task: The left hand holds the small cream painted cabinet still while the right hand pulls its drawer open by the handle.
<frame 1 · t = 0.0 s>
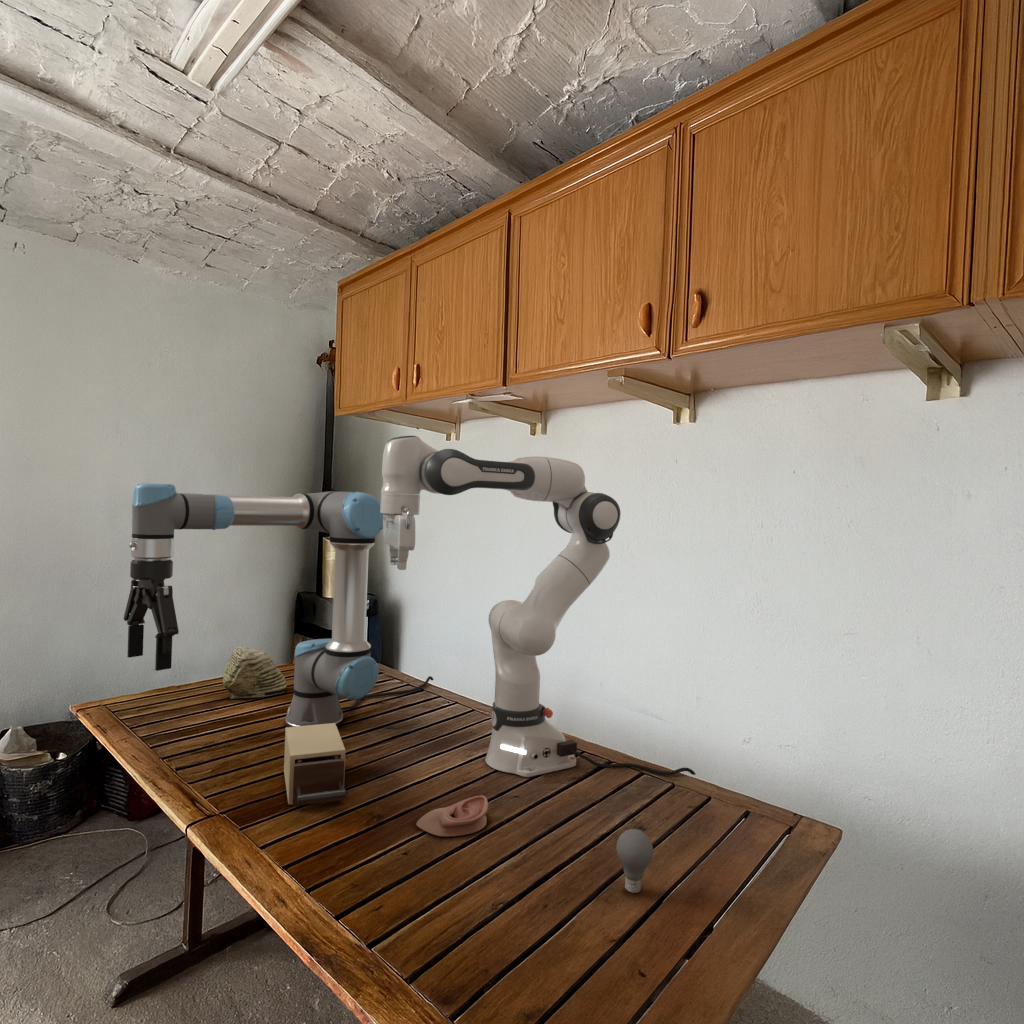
left hand: (148, 662, 129), 28 cm above the table, tool pointing down, fingers open, 13 cm apart
right hand: (397, 567, 145), 48 cm above the table, tool pointing down, fingers open, 8 cm apart
fossil: (254, 694, 198), on the table
light bulb: (632, 891, 106), on the table
cabinet: (312, 783, 140), on the table
anatomical model: (452, 823, 125), on the table
drawer: (316, 773, 133), point 5 cm above the table, slide at 1.9 cm
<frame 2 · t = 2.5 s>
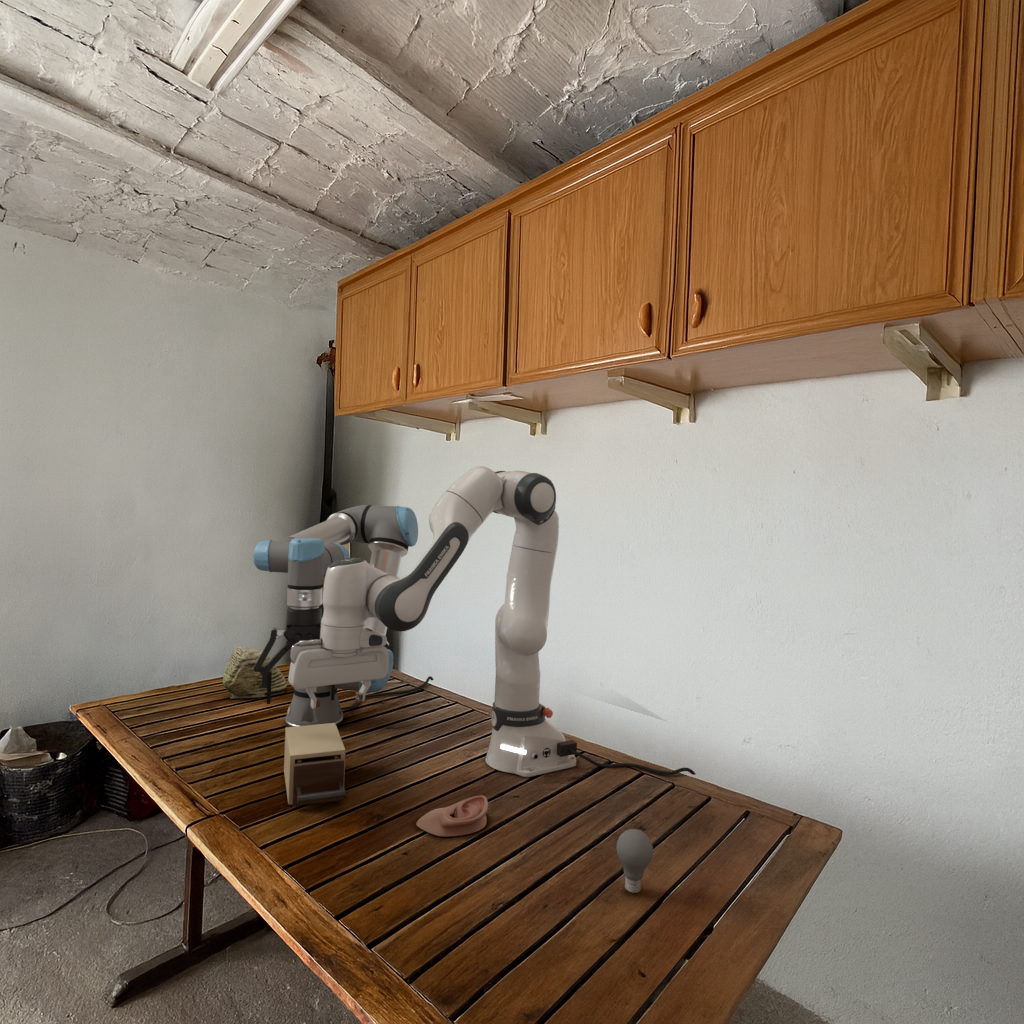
left hand: (300, 700, 143), 17 cm above the table, tool pointing down, fingers open, 13 cm apart
right hand: (338, 704, 130), 21 cm above the table, tool pointing down, fingers open, 8 cm apart
nothing on the table moved.
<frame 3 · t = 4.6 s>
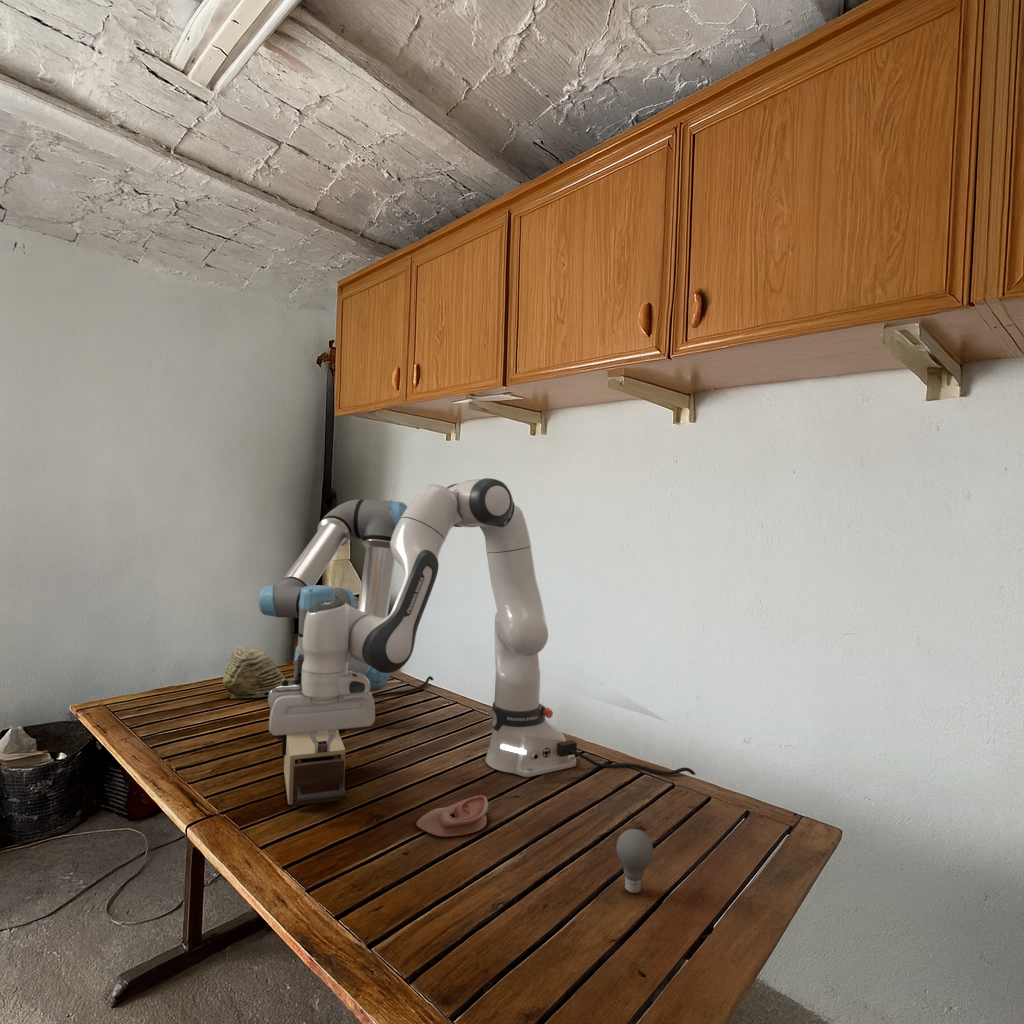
left hand: (311, 750, 144), 5 cm above the table, tool pointing down, fingers closed on cabinet, 11 cm apart
right hand: (321, 751, 126), 13 cm above the table, tool pointing down, fingers closed
cabinet: (312, 783, 140), on the table, touching left hand
everything else where it was.
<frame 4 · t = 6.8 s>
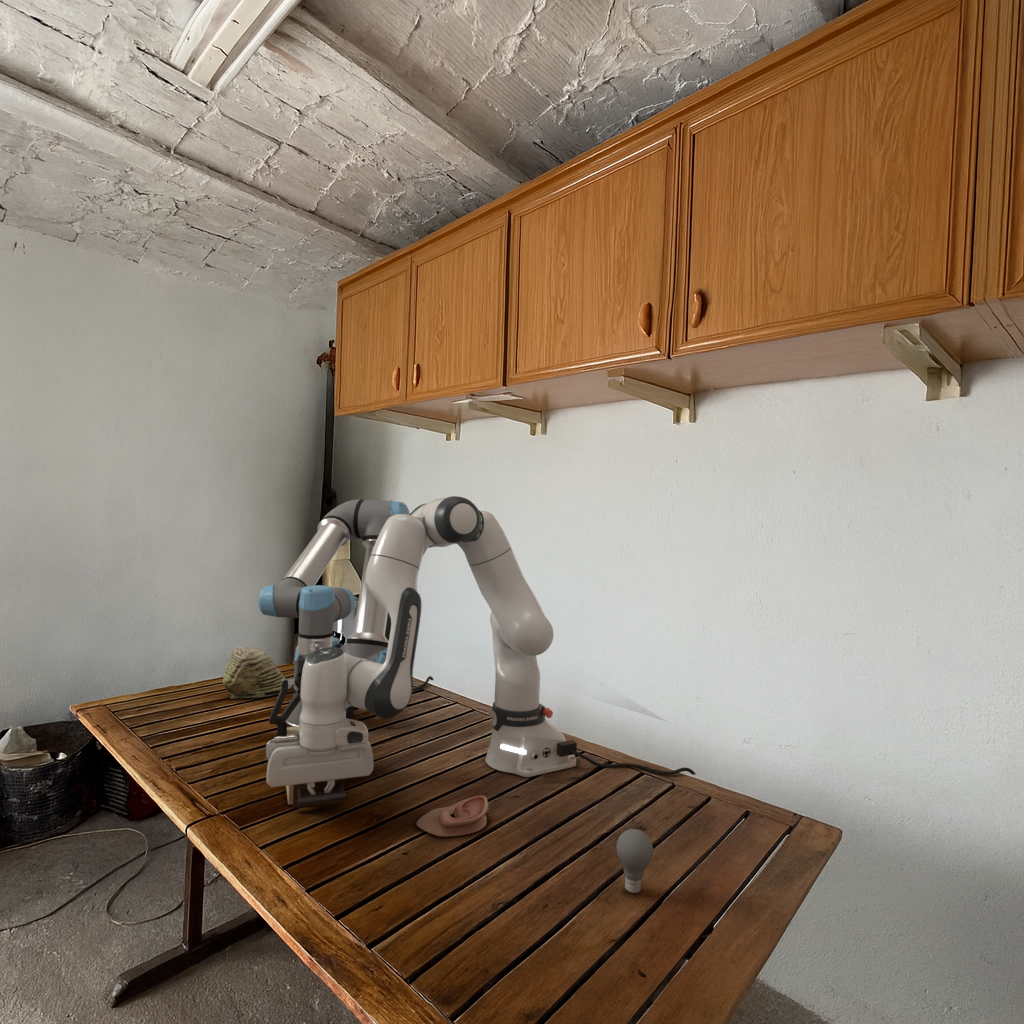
left hand: (311, 750, 144), 5 cm above the table, tool pointing down, fingers closed on cabinet, 11 cm apart
right hand: (319, 801, 125), 3 cm above the table, tool pointing down, fingers closed, pressing on drawer
cabinet: (312, 783, 140), on the table, touching left hand
drawer: (316, 775, 133), point 5 cm above the table, slide at 2.7 cm, touching right hand
everything else where it was.
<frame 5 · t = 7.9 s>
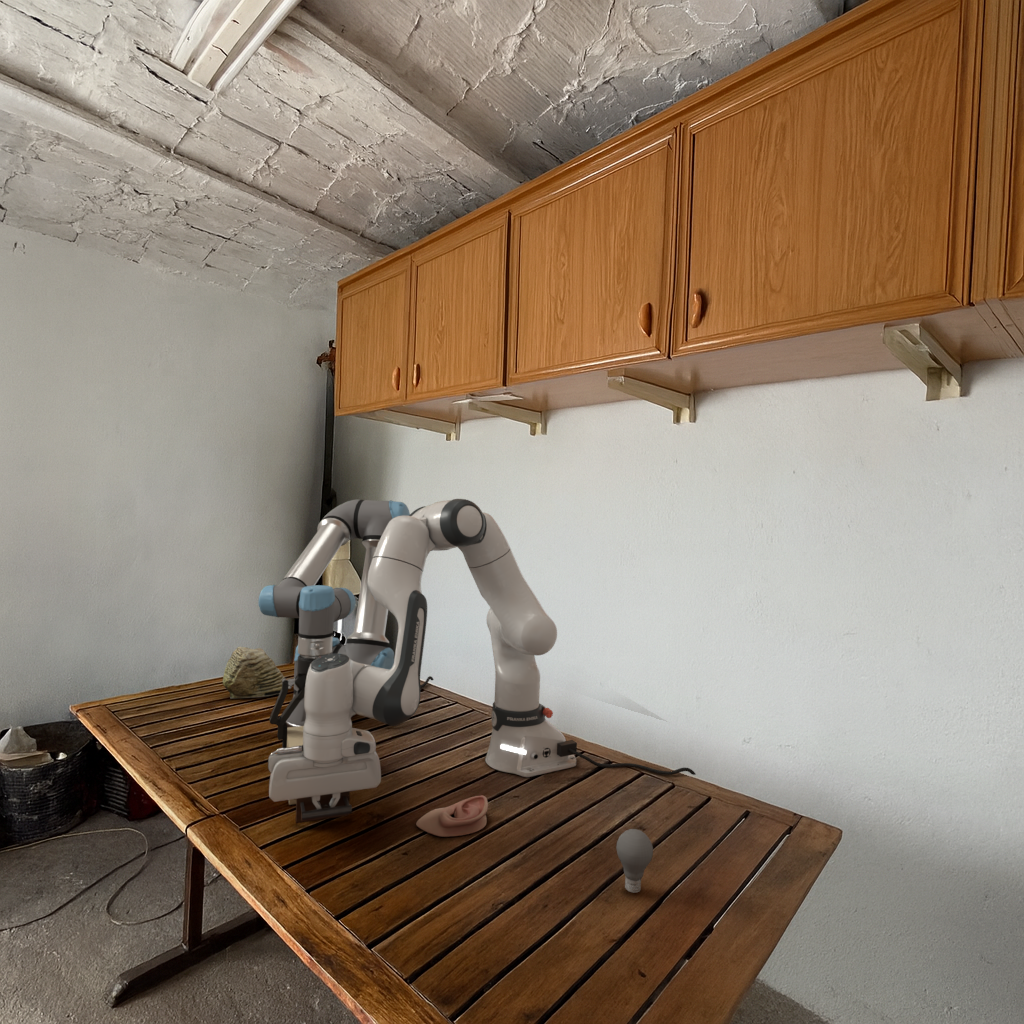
left hand: (311, 750, 144), 5 cm above the table, tool pointing down, fingers closed on cabinet, 11 cm apart
right hand: (325, 815, 119), 3 cm above the table, tool pointing down, fingers closed, pressing on drawer
cabinet: (313, 783, 139), on the table, touching left hand
drawer: (320, 787, 127), point 5 cm above the table, slide at 8.8 cm, touching right hand
everything else where it was.
when the left hand's fingers open (5 cm above the table, at t = 9.5 s): cabinet stays where it is, on the table.
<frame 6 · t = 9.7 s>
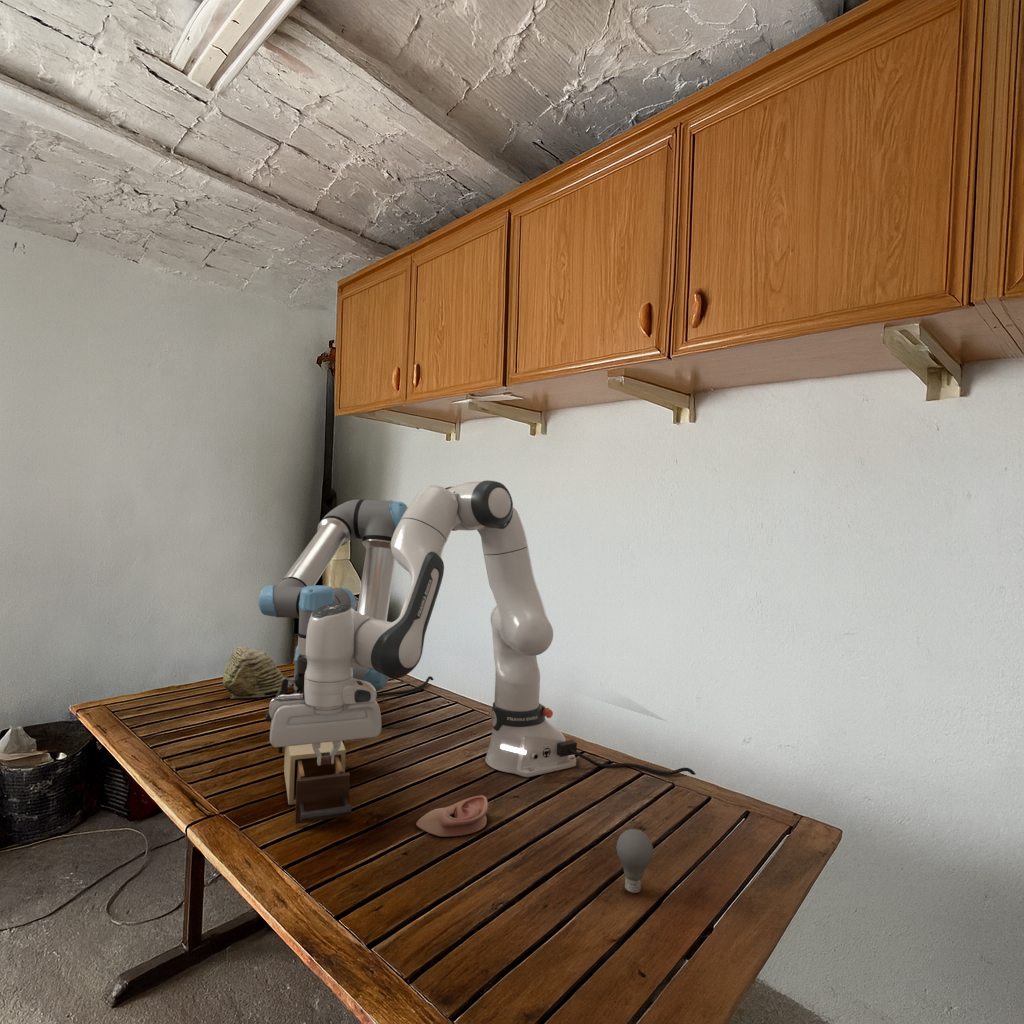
left hand: (311, 747, 144), 6 cm above the table, tool pointing down, fingers open, 13 cm apart
right hand: (325, 763, 120), 13 cm above the table, tool pointing down, fingers closed
cabinet: (312, 784, 139), on the table
drawer: (320, 788, 127), point 5 cm above the table, slide at 8.9 cm
everything else where it was.
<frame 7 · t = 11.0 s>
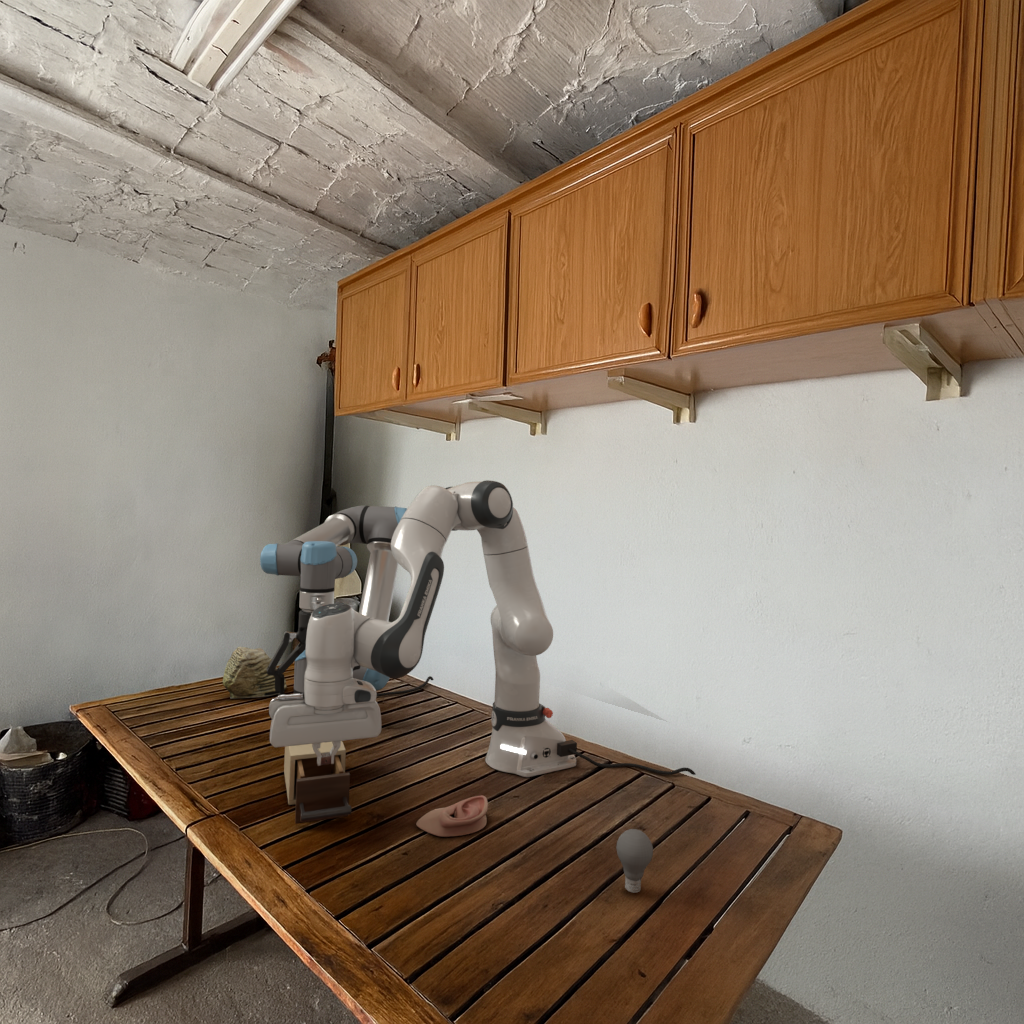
left hand: (313, 702, 144), 16 cm above the table, tool pointing down, fingers open, 13 cm apart
right hand: (325, 763, 120), 13 cm above the table, tool pointing down, fingers closed
nothing on the table moved.
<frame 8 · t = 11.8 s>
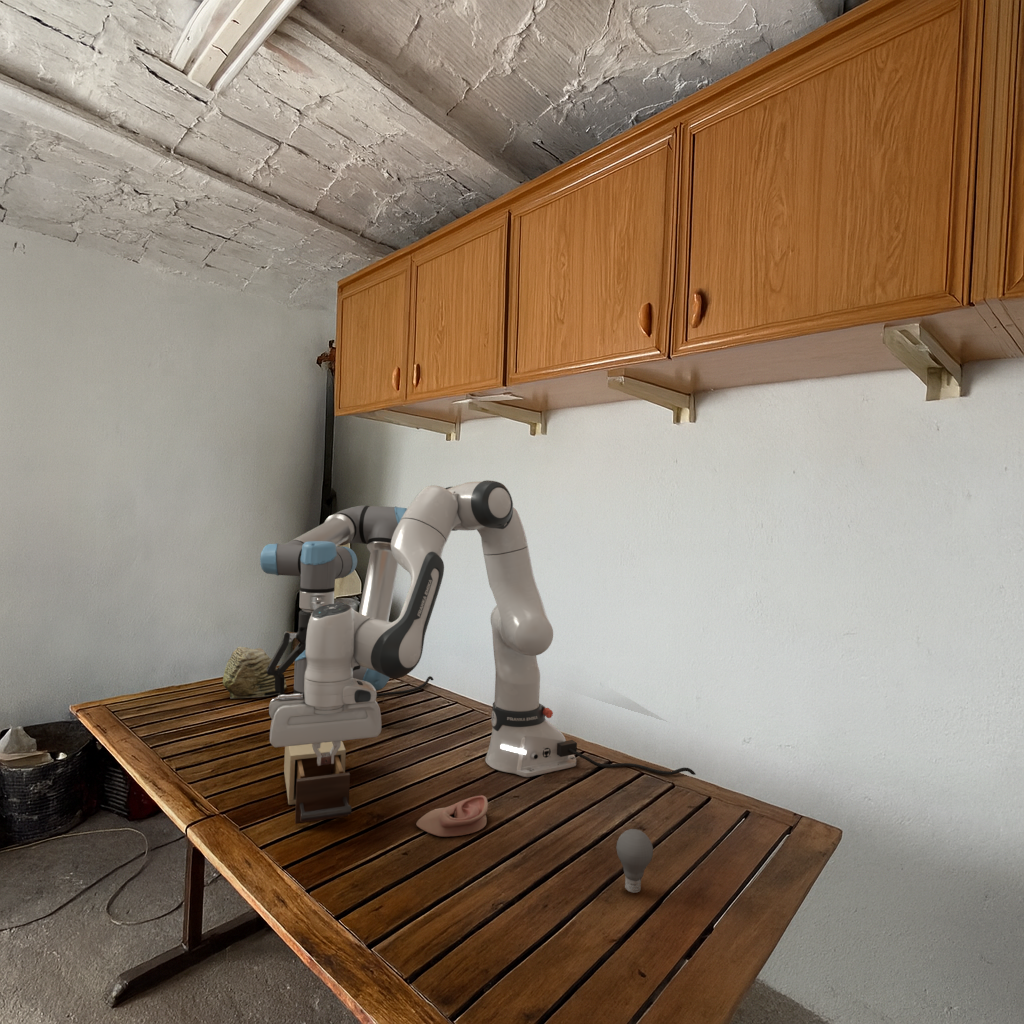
left hand: (313, 702, 144), 16 cm above the table, tool pointing down, fingers open, 13 cm apart
right hand: (325, 763, 120), 13 cm above the table, tool pointing down, fingers closed
nothing on the table moved.
at the end: drawer slide at 8.9 cm; cabinet tilted 0°; cabinet never tilted more than 1° during the clip; cabinet moved 0.1 cm from its start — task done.
